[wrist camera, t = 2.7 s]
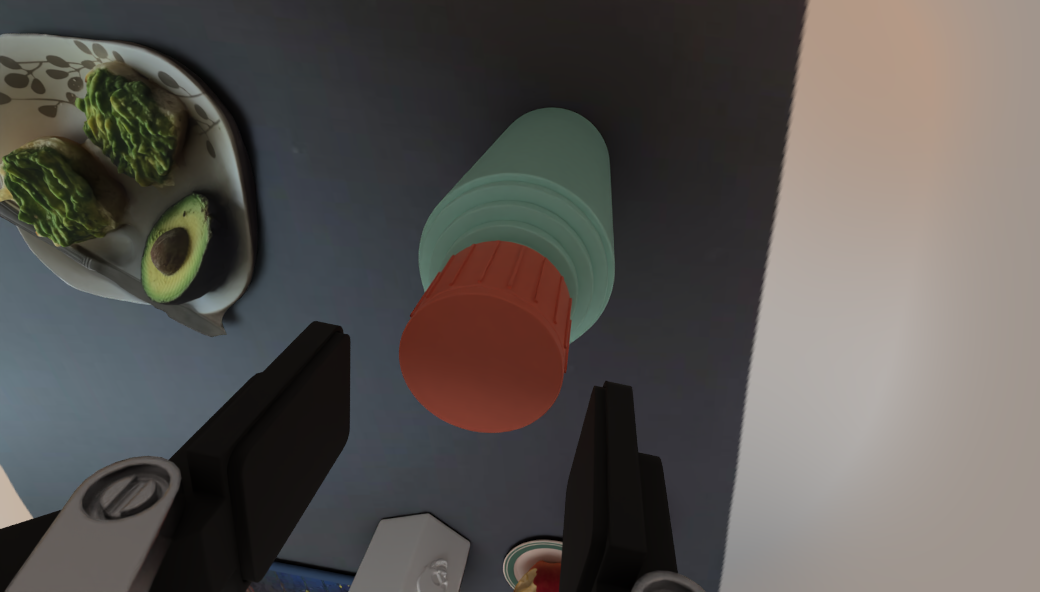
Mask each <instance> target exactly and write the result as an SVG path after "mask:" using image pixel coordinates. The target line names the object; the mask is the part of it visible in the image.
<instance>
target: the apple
mask: <svg viewBox="0 0 1040 592" xmlns="http://www.w3.org/2000/svg"><path fill="white" fill-rule="evenodd" d="M562 543H563V542H560V541H554V540H534V541H529V542H525V543H522V544H520V545H518V546H516V547H515V548H513V549H512V550H511V551H510V552H509V553H508V554H507V556H506V558H505V561H504V564H503V572H504V576H505V578H506V580H507V581H508V583H509V584H510V585H511V587H512V588H513V589H514V592H559V584H560V570H561V557H562Z"/></svg>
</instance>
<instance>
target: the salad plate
mask: <svg viewBox="0 0 1040 592" xmlns="http://www.w3.org/2000/svg"><path fill="white" fill-rule="evenodd" d="M0 216H1V217H2V218H4V219H6V220H8V221H9V222H11V223H13V224H14V225H16V226H17V228H18V230H19V231H20V233H21V235H22V236H23V238H24V240H25V242H26V243H27V244H28V246H29V248H30V249H31V250H32V252H33V253H34V254H35V255H36V256H37V257H38V258H39V259H40V260H41V261H42V262H43V263H44V264H45V265H46V266H47V267H48V268H49V269H50V270H51V271H52V272H54V273H55V274H56V275H57V276H58V277H59V278H61V279H62V280H63V281H64V282H66V283H67V284H69V285H70V286H72V287H74V288H76V289H78V290H81V291H83V292H87V293H91V294H94V295H98V296H101V297H106V298H111V299H117V300H123V301H129V302H135V303H140V304H148V305H153V306H154V307H155V308H157V309H160V310H163V311H164V312H166V313H167V315H168V316H169V317H170V318H172V319H174V320H175V321H177V322H179V323H181V324H183V325H185V326H187V327H189V328H191V329H193V330H195V331H197V332H200V333H202V334H204V335H207V336H210V337H214V336H218V335H226V332H225V330H224V327H223V324H222V318H223V316H224V313H225V312H226V311H227V309H228V308H230V307H231V306H232V305H233V304H234V303H235V302H236V301H237V300H238V299H240V298H241V297H242V295H243V294H244V293H245V292H246V291H247V289H248V286H249V285H250V283H251V280H252V276H253V272H254V268H255V262H256V256H257V249H258V235H257V207H256V189H255V182H254V178H253V172H252V168H251V164H250V160H249V157H248V153H247V150H246V148H245V145H244V143H243V140H242V137H241V134H240V132H239V129H238V126H237V124H236V122H235V119H234V117H233V116H232V114H231V113H230V112H229V111H228V109H227V108H226V107H225V106H224V104H223V103H222V102H221V101H220V99H219V98H218V97H217V96H216V94H215V93H214V92H213V91H212V90H211V89H210V88H209V87H208V86H207V85H206V84H205V83H204V82H203V81H202V80H201V78H200V77H199V76H197V75H196V74H194V73H193V72H192V71H191V70H189V69H188V68H187V67H185V66H184V65H183V64H181V63H180V62H178V61H177V60H175V59H173V58H172V57H170V56H168V55H166V54H163V53H160V52H158V51H156V50H154V49H152V48H149V47H146V46H143V45H140V44H136V43H133V42H128V41H121V40H92V39H84V38H75V37H63V36H58V35H47V34H2V35H0Z"/></svg>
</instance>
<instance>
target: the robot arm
mask: <svg viewBox="0 0 1040 592" xmlns="http://www.w3.org/2000/svg"><path fill="white" fill-rule="evenodd" d="M349 430H350V336H349V335H348V334H343V329H342V327H341V326H337V325H333V324H328V323H323V322H318V321H314V322H312V323H311V324H310V325H309V326H308V327H307V328H306V329H305V330H304V331H303V332H302V333H301V334H300V335H299V336H298V337H297V338H296V339H295V340H294V341H293V342H292V343H291V344H290V345H289V346H288V347H287V348H286V349H285V350H284V351H283V352H282V353H281V354H280V355H279V356H278V357H277V358H276V359H275V360H274V361H273V362H272V363H271V364H270V365H269V366H268V367H267V368H266V369H265V370H264V371H263V372H261V373H257V374H256V375H254V376H253V377H252V378H250V379H249V380H248V381H247V382H246V383H245V384H244V385H243V386H242V387H241V388H240V389H239V390H238V391H237V392H236V393H235V394H234V395H233V396H232V397H231V398H230V399H229V400H228V401H227V402H226V403H225V404H224V405H223V406H222V407H221V408H220V409H219V410H218V411H217V412H216V413H215V414H214V415H213V416H212V417H211V418H210V419H209V420H208V421H207V422H206V423H205V424H204V425H203V426H202V427H201V428H200V429H199V430H198V431H197V432H196V433H195V434H194V435H193V436H192V437H191V438H190V439H189V440H188V441H187V442H186V443H185V444H184V445H183V446H182V447H181V448H180V449H179V450H178V451H177V452H176V453H175V454H174V455H173V456H172V457H171V458H170V459H169V460H167V459H164V458H162V457H153V456H143V457H134V458H129V459H125V460H122V461H118V462H115V463H113V464H111V465H109V466H106V467H104V468H102V469H100V470H98V471H97V472H95V473H94V474H93V475H91V476H90V477H88V478H87V479H85V480H84V482H83V483H82V484H81V485H80V486H79V487H78V488H77V489H76V490H75V491H74V493H73V494H72V496H71V497H70V499H69V500H68V501H67V503H66V504H65V506H64V507H63V509H62V510H59V511H56V512H53V513H50V514H47V515H43V516H40V517H37V518H34V519H31V520H28V521H25V522H21V523H19V524H15V525H12V526H9V527H6V528H2V529H0V592H246V590H247V589H248V587H249V585H250V584H251V582H255V583H258V582H260V581H261V580H262V579H263V578H264V576H265V575H266V573H267V572H268V570H269V568H270V567H271V565H272V563H273V562H274V560H275V559H276V557H277V555H278V554H279V552H280V550H281V549H282V547H283V546H284V544H285V542H286V541H287V539H288V537H289V536H290V534H291V533H292V531H293V529H294V528H295V526H296V524H297V523H298V521H299V520H300V518H301V516H302V515H303V513H304V511H305V510H306V508H307V507H308V505H309V503H310V502H311V500H312V498H313V497H314V495H315V494H316V492H317V490H318V489H319V487H320V485H321V484H322V482H323V481H324V479H325V477H326V476H327V474H328V472H329V471H330V469H331V468H332V466H333V464H334V463H335V461H336V459H337V458H338V456H339V455H340V453H341V451H342V450H343V448H344V446H345V444H346V442H347V439H348V436H349ZM559 592H705V591H704V590H703V589H702V588H701V587H700V586H699V585H698V584H696V583H695V582H693V581H692V580H690V579H689V578H687V577H685V576H683V575H680V574H678V571H677V564H676V557H675V550H674V543H673V536H672V529H671V522H670V515H669V508H668V501H667V494H666V487H665V480H664V473H663V466H662V462H661V459H660V458H659V457H657V456H652V455H648V454H643V453H638V447H637V435H636V424H635V413H634V402H633V391H632V387H631V386H627V385H622V384H617V383H612V382H608V381H605V383H604V385H603V387H598V386H594V388H593V391H592V394H591V398H590V401H589V405H588V409H587V413H586V416H585V420H584V424H583V427H582V431H581V435H580V438H579V442H578V446H577V449H576V453H575V457H574V461H573V464H572V468H571V472H570V475H569V479H568V485H567V491H566V503H565V516H564V530H563V543H562V557H561V570H560V584H559Z"/></svg>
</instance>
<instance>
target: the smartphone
mask: <svg viewBox="0 0 1040 592" xmlns="http://www.w3.org/2000/svg"><path fill="white" fill-rule="evenodd" d="M354 578H355V576H350V575H344V574H339V573H334V572H328V571H323V570H318V569H312V568H307V567H302V566H296V565H291V564H286V563H280V562H275V561H274V562H273V563H272V565H271V567H270V568H269V570H268V572H267V573H266V575H265V576H264V578H263V579H262V580H261V581H260V582H258V583H255V582H251V584H250V585H249V587H248V589H247V590H246V592H348V591H349V589H350V587H351V584H352V582H353V580H354Z"/></svg>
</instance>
